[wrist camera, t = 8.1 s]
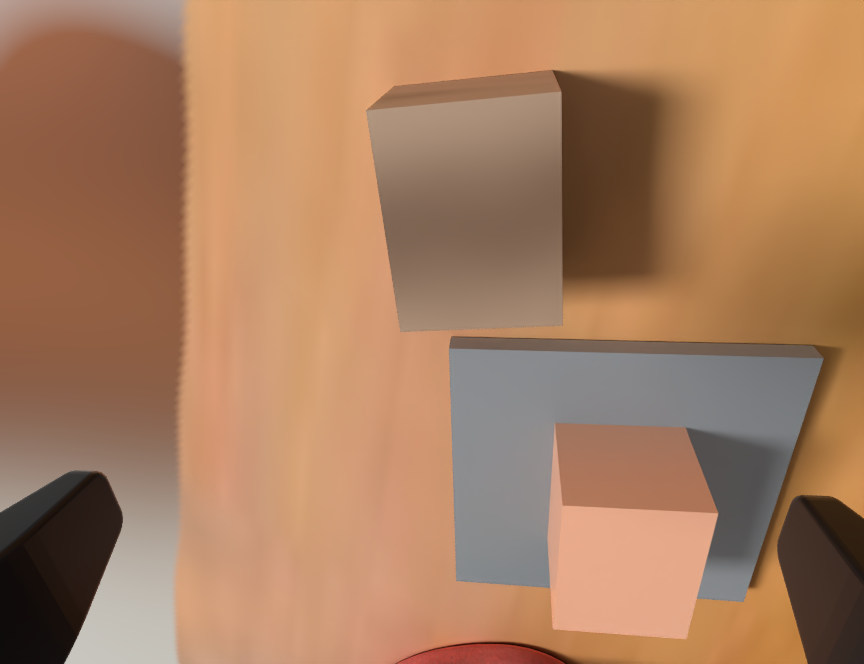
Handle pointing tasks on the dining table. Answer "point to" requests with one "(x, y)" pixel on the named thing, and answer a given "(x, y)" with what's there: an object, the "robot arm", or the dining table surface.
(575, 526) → the terracotta brick
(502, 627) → the dining table surface
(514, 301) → the walnut brick
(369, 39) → the dining table surface
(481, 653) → the stacking bear
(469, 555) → the baseplate
